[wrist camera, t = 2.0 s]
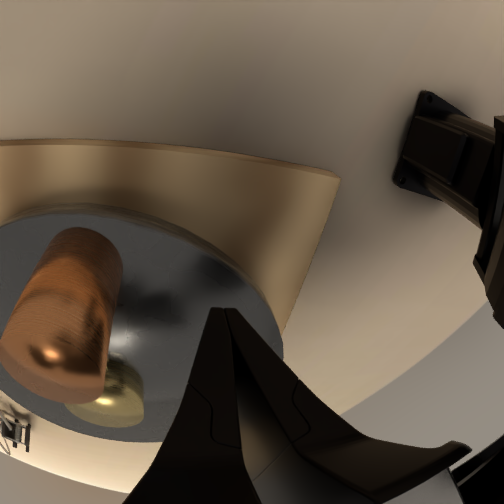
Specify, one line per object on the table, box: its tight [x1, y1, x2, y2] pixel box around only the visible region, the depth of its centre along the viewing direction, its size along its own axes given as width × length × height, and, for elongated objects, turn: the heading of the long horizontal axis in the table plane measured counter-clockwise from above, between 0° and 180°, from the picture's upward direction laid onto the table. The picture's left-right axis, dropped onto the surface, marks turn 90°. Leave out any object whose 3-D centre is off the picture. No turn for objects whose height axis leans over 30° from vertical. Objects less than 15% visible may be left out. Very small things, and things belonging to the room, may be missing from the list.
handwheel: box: [0, 202, 283, 442], centre depth 13 cm, size 20×20×6 cm
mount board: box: [0, 139, 341, 335], centre depth 17 cm, size 23×23×4 cm
